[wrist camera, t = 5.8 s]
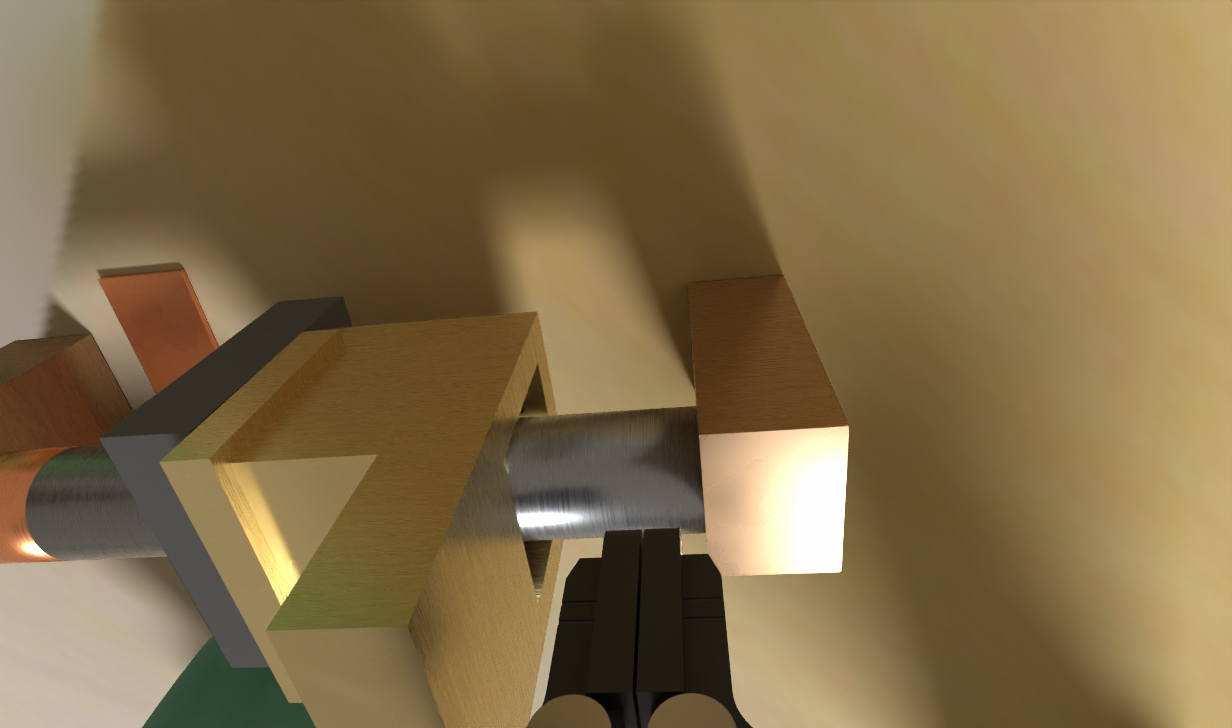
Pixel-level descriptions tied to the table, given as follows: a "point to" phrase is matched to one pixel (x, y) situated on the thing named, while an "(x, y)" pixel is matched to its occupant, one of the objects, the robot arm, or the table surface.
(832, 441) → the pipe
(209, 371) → the dark grey square plate
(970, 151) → the table surface
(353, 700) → the tan notched block
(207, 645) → the mug
